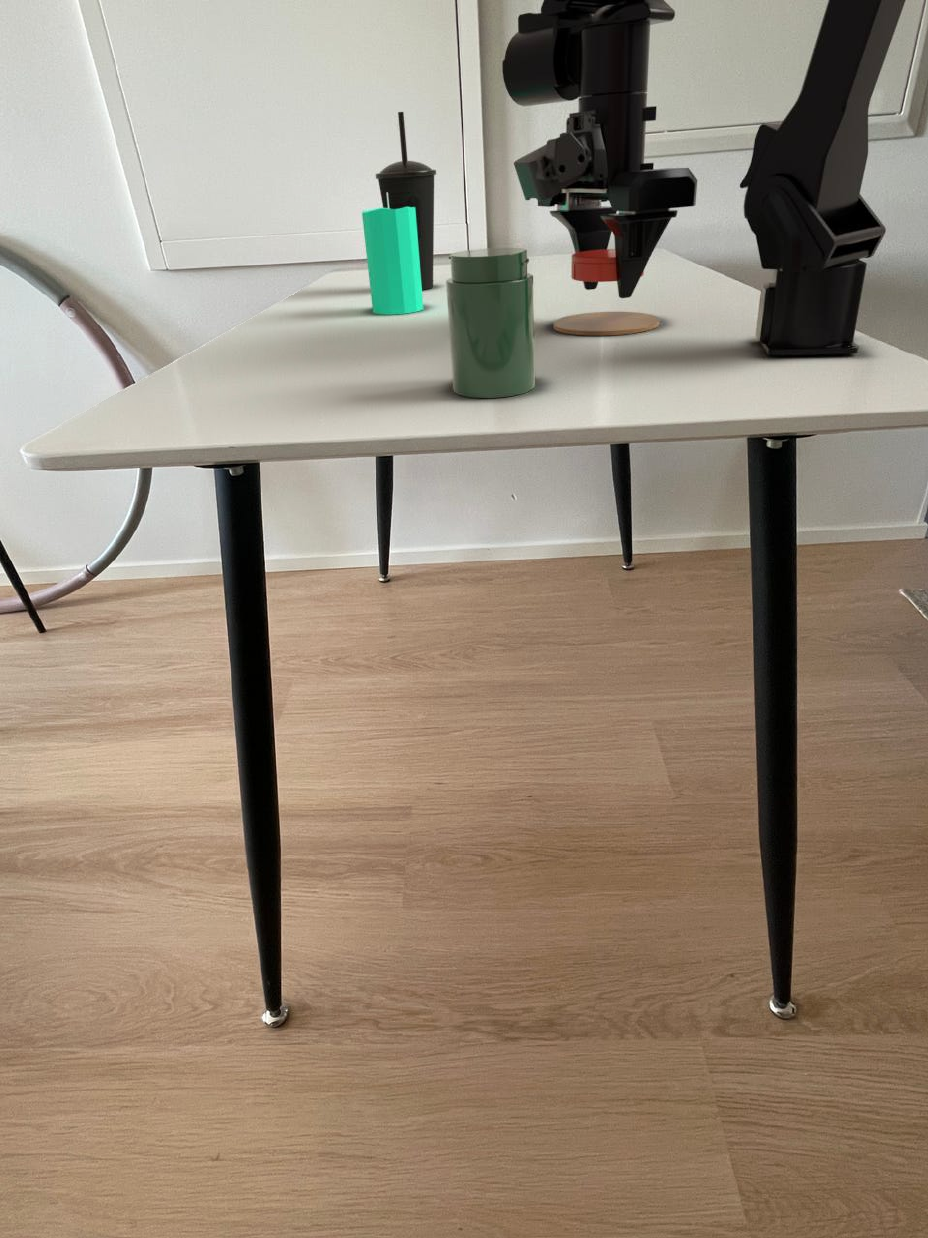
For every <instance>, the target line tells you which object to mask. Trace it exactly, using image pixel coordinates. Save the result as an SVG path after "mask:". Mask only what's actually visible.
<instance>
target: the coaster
mask: <svg viewBox="0 0 928 1238" xmlns="http://www.w3.org/2000/svg"><path fill="white" fill-rule="evenodd" d="M659 326H660V318H659V317H658V316H655V315H653V314H649V313H643V312H634V311H597V312H587V313H585V312H584V313H578V314H573V315H572V314H571V315H568V316H564V317H561V318H558V319H556V320H555V321H554V322H553V329H554V330H555V331H557V332H559V333H563V334H567V335H574V336H589V337H591V336H592V337H600V336H601V337H602V336H604V337H605V336H606V337H607V336H621V335H630V334H637V333H638V334H639V333H643V332H646V331H651V330H654V329H655V328H657V327H659Z"/></svg>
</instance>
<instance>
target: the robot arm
mask: <svg viewBox="0 0 928 1238" xmlns="http://www.w3.org/2000/svg"><path fill="white" fill-rule="evenodd" d="M906 1H907V0H827V3H826V7H825V11H824V13H823V17H822V19H821V23H820V26H819V30H818V33H817V37H816V40H815V44H814V46H813V49H812V54H811V57H810V60H809V62H808V67H807V69H806V73H805V76H804V80H803V81H802V82H803V83H802V86H801V89H800V92H799V94H798V97H797V99H796V101H795V102H794V104H793V106H792V107H791V108H790V110H789V111H788V113H787V114H786V115H785V117H784V119H783V120H782V121H781V122H777V123H762V124H760V125H759V127H758V129H757V131H756V135H755V137H754V143H753V148H752V149H753V150H752V155H751V161H750V165H749V166H748V169H747V172H746V174H745V176H744V177H743V179H742V180H741V182H740V183H739V188H740V189H746V191H745V194H744V200H743V217H744V218H745V219H746V221H747V222H748V226H749V228H750V231H751V232H752V233H753V234H754V235H755V239H756V240H755V241H756V245H757V251H758V255H759V260H760V265H761V268H762V269H763V270H770V273H769V274H770V275H769V282H763V284H762V285H761V286H760V293H759V294H760V295H759V304H758V312H757V321H756V328H755V338H756V339H757V340H758V342H759V343H760V345H761V346H762V348H763V350H765V352H766V354H767V355H769V356H805V355H806V356H807V355H849V354H851V355H852V354H858V353H859V348H860V346H859V345H858V344H857V343H856V342H855V341H854V338H855V333H856V327H857V322H858V316H859V310H860V304H861V299H862V293H863V288H864V283H865V277H866V270H867V265H868V263H867V262H865V261H864V260H862V259H869V258H872V257H874V255H875V253H876V251H877V249H878V248H879V246H880V244H881V242H882V240H883V238H884V236H885V234H886V233H887V232H886V231H887V230H886V228H887V227H886V226H885V225H884V224H883V222H882V220H880V219H879V218H878V217H879V216H877V215H876V213H875V212H874V211H873V209H872V208H871V206H870V205H869V204H868V202H867V201H866V200H865V199H864V198H863V196H862V195H861V189H862V184H863V179H864V175H865V171H866V166H867V161H868V156H869V108H870V103H871V99H872V97H873V93H874V91H875V88H876V85H877V83H878V80H879V76H880V74H881V71H882V69H883V66H884V63H885V60H886V57H887V54H888V52H889V48H890V46H891V43H892V40H893V37H894V35H895V31H896V29H897V26H898V23H899V20H900V17H901V14H902V11H903V9H904V6H905V3H906ZM675 16H676V11H675V9H674V8H673V7H671V6H670V5H669V3H668V2H666V1H665V0H543V2H542V3H541V6H540V12H538V13H537V12H525V13H521V14H519V15H518V17H517V32H516V33H515V34H514V35H513V36H512V37H511V39H510V40H509V42H508V44H507V47H506V49H505V53H504V59H503V60H502V65H501V70H502V77H503V84H504V86H505V90H506V91H507V94H508V95H509V97H510V99H511V100H512V101H513V102H514V103H515V104H516V105H518V106H521V107H531V106H539V105H540V106H541V105H547V104H555V103H563V102H571V101H575V100H577V99H578V106H577V107H578V111H577V112H572V113H569V115H568V116H569V117H567V119H566V121H565V122H566V123H565V127H566V129H565V132H561V133H559V137H556V138H551V139H550V138H549V139H548V140H547V141H546V144H544V145H542V146H540V147H538V148H536V149H535V150H533V151H531V152H529V153H527V154H525V155H523V156H522V157H519V158H518V159H516V160H515V161H514V162H513V166H514V169H515V172H516V176H517V179H518V181H519V185H520V189H521V191H522V195H523V197H524V200H525V201H530V200H531V199H536V200H537V207H544V208H545V207H547V208H551V207H552V208H553V207H555V206H556V210H549V214H550V216H552V218H555V219H556V220H558V222H560V223H561V225H563V226H564V227H565V229H567V231H568V233H569V236H570V239H571V242H572V245H573V249H574V253H578V252H583V251H590V250H601V249H609V244H610V239H611V236H612V234H613V237H614V249H615V256H616V273H617V281H616V285H617V293H618V294H617V295H618V297H619V298H620V299H626V298H627V299H628V298H631V297H632V296H633V293H634V291H635V290H636V287H637V286H638V284H639V281H640V279H641V278H642V277H641V275H642V273H643V271H644V272H645V269H646V266H647V265H648V263H649V260H650V258H651V256H652V254H653V253H654V250H655V249H656V247H657V246H658V243H659V242H660V240H661V238H662V236H663V234H664V232H665V230H666V229H667V228H668V226H669V224H670V222H671V220H672V219H673V218H677V215H678V209H679V208H687V207H696V204H697V203H696V202H697V192H698V178H697V177H696V176H695V175H694V173H693V172H692V171H691V169H690V167H669V168H668V167H664V168H654V166H655V165H654V164H655V163H654V162H645V150H646V149H645V148H646V147H645V146H646V129H647V128H646V127H647V126H646V125H647V124H646V123H647V122H653V121H657V110H658V109H657V106H656V105H654V106H652V105H651V106H648V105H647V104H648V103H647V102H648V86H649V85H648V84H649V83H648V81H649V79H648V78H649V61H650V60H649V59H650V39H651V38H650V37H651V25H658V24H663V23H669V22H671V21H674V19H675ZM606 202H609V204H610V206H608V205H607V206H606V205H605V206H603V205H602V203H606ZM582 284H583V287H584V289H585V290H587V291H590V290H591V291H593V290H596V289H597V288H598V284H599V282H585V281H582Z"/></svg>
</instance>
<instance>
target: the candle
mask: <svg viewBox="0 0 928 1238" xmlns="http://www.w3.org/2000/svg"><path fill="white" fill-rule="evenodd" d="M387 204H388V208H383V206H382V207H377V208H372V209H367V210H362V211H361V216H362V217H361V218H362V224H363V225H362V226H363V227H362V228H363V235H364V236H363V237H364V243H365V245H364V246H365V253H366V261H367V270H368V279H369V289H370V297H371V298H370V299H371V308H372V313H373V314H376V315H389V316H390V315H403V314H411V313H417V312H419V311H422V310H424V298H423V297H424V296H423V290H422V285H421V273H420V260H419V248H418V236H417V224H416V211H415V207H404V208H399V209H389V201H388V192H387Z"/></svg>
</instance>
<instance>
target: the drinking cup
mask: <svg viewBox="0 0 928 1238" xmlns="http://www.w3.org/2000/svg"><path fill="white" fill-rule="evenodd" d="M404 112H405V111H398V112H397V117H398V127H399V129H398V130H399V141H400V151H401V161H395V162H393V163H391V164H388V165H387V166H385V167H383V169H381V171H380V172H377V173H375V179H376V180H377V181H378V187H379V192H380V198H381V205H382V207H383V208H388V204H387V192H388V201H389V209H399V208H404V207H415V211H416V224H417V236H418V248H419V260H420V273H421V285H422V291H425V290H430V289H433V288H434V249H435V247H434V246H435V245H434V240H435V239H434V238H435V237H434V236H435V235H434V234H435V176H436V175H437V170H436V169H432V168H431V167H430V166H428V165H427V164H425V163H422V162H419V161H416V160H415V161H414V160H408V149H407V137H406V126H405V113H404Z"/></svg>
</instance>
